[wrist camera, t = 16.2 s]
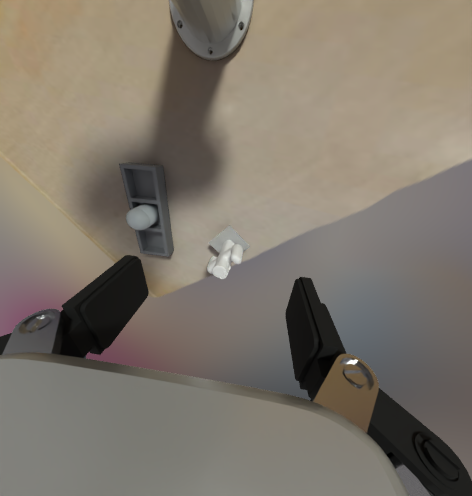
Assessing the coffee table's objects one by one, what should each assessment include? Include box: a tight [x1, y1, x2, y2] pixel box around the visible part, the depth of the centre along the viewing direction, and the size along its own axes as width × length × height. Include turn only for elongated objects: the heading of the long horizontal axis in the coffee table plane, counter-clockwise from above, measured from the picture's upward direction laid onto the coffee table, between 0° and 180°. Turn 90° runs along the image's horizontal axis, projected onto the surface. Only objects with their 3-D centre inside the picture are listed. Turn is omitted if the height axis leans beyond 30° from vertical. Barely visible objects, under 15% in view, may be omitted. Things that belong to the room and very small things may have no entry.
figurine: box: [207, 225, 250, 279], centre depth 39 cm, size 7×9×15 cm
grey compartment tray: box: [119, 163, 174, 257], centre depth 43 cm, size 22×8×3 cm, turn 176°
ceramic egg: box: [126, 203, 160, 230], centre depth 40 cm, size 5×5×8 cm
